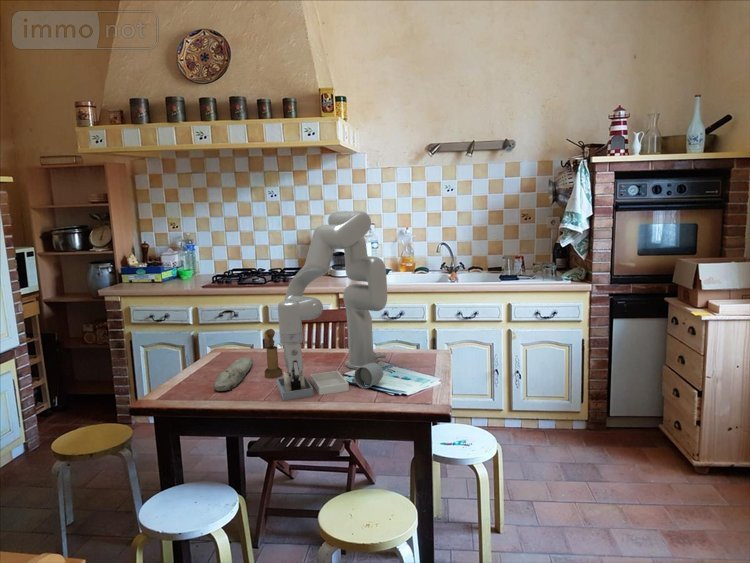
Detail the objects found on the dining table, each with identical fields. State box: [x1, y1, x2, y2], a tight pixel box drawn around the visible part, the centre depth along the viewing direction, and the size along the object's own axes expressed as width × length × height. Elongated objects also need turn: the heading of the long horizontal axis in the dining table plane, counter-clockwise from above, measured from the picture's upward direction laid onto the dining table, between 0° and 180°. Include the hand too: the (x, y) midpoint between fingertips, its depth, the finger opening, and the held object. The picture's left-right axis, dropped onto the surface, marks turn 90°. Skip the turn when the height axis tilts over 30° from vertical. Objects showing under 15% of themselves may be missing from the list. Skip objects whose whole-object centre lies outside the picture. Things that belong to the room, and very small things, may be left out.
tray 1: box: [275, 374, 315, 401], centre depth 190 cm, size 10×15×3 cm, turn 18°
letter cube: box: [282, 370, 305, 392], centre depth 189 cm, size 6×6×6 cm
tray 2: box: [310, 370, 350, 396], centre depth 193 cm, size 10×15×3 cm, turn 18°
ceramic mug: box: [351, 363, 384, 389], centre depth 194 cm, size 11×8×8 cm
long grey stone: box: [213, 356, 254, 392], centre depth 209 cm, size 35×5×10 cm
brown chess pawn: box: [264, 328, 284, 379], centre depth 206 cm, size 7×6×18 cm
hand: (294, 388), depth 190 cm, fingers closed on letter cube, 6 cm apart
